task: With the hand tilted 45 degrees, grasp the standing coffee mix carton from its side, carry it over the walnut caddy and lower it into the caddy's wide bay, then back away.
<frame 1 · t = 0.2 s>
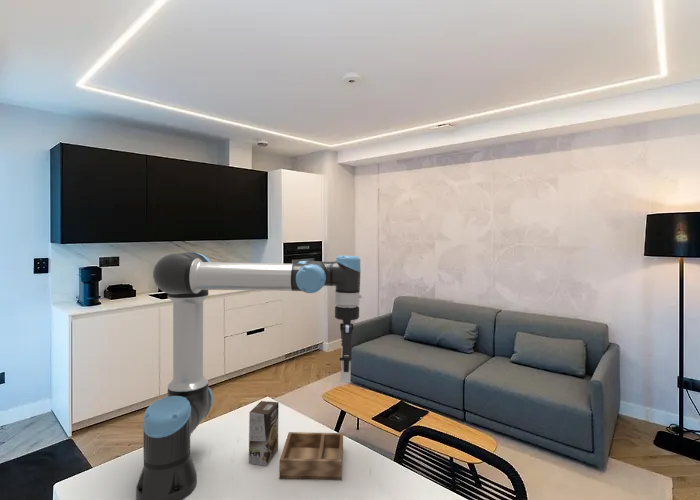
hand: (345, 374, 118), 28 cm above the table, tool pointing down, fingers open, 13 cm apart
caddy: (313, 463, 118), on the table
coffee box: (264, 457, 121), on the table
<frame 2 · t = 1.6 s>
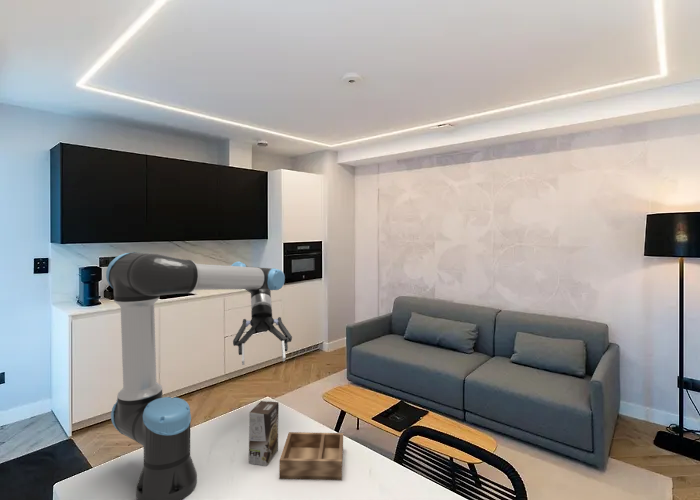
hand: (263, 361, 130), 28 cm above the table, tool tilted 45°, fingers open, 13 cm apart
nothing on the table moved.
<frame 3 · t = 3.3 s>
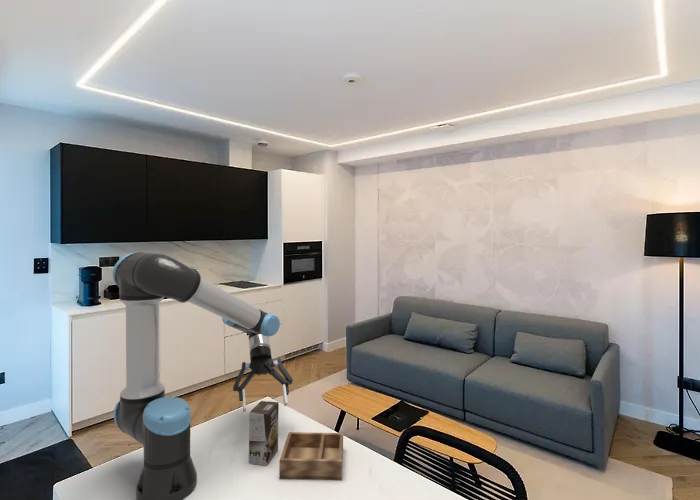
hand: (265, 407, 127), 13 cm above the table, tool tilted 45°, fingers open, 13 cm apart
nothing on the table moved.
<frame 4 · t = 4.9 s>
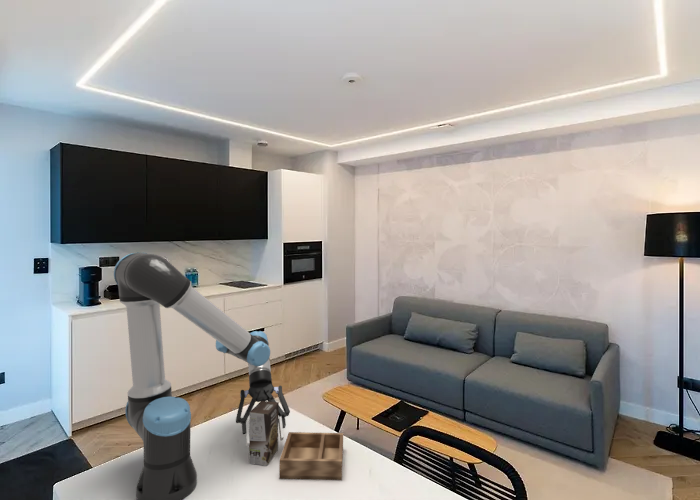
hand: (265, 441, 118), 6 cm above the table, tool tilted 45°, fingers closed on coffee box, 10 cm apart
coffee box: (264, 457, 121), on the table, touching gripper
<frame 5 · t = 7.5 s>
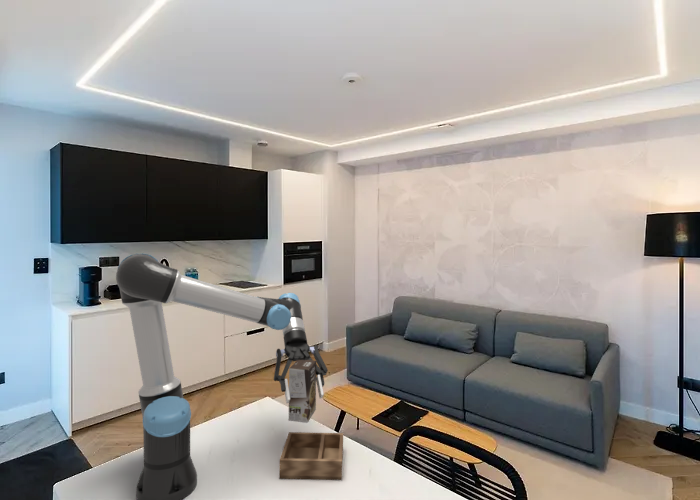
hand: (305, 398, 115), 21 cm above the table, tool tilted 45°, fingers closed on coffee box, 10 cm apart
coffee box: (302, 415, 119), point 14 cm above the table, touching gripper
when the fingers open (9 cm above the table, at t = 10.4 s): coffee box drops 1 cm, resting on caddy.
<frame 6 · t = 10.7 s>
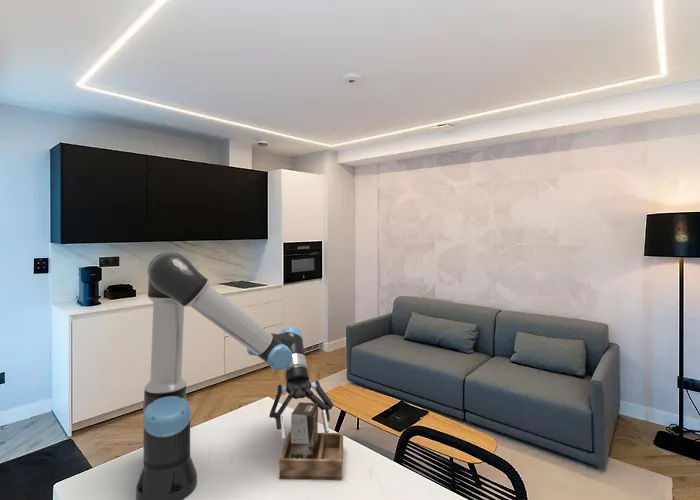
hand: (305, 436, 116), 10 cm above the table, tool tilted 45°, fingers open, 13 cm apart
coffee box: (304, 460, 119), point 1 cm above the table, touching caddy
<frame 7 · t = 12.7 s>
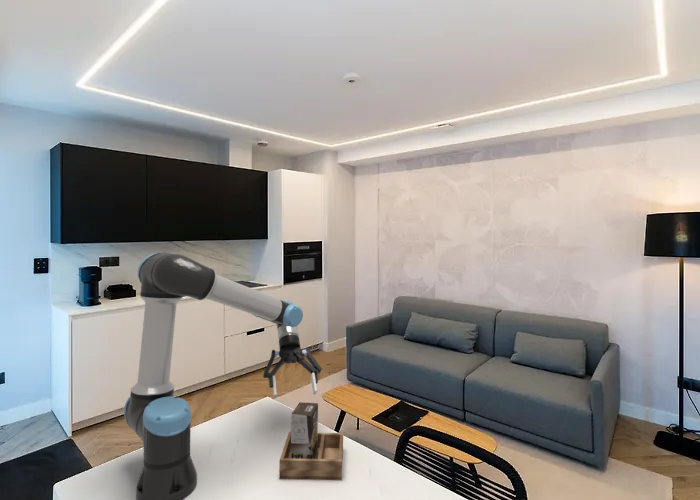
hand: (295, 394, 128), 17 cm above the table, tool tilted 45°, fingers open, 13 cm apart
nothing on the table moved.
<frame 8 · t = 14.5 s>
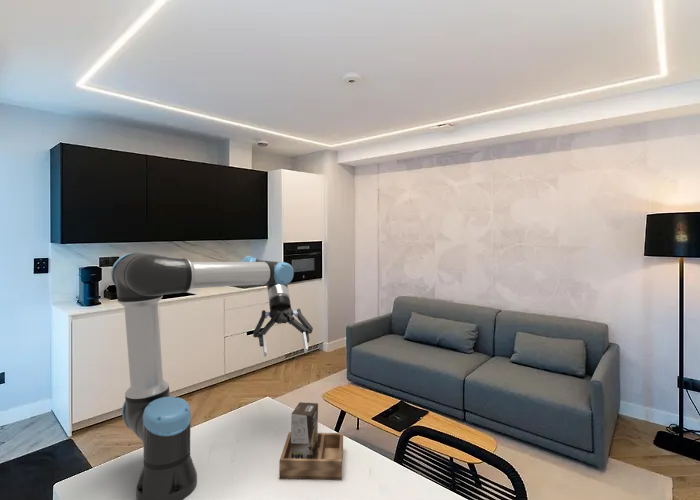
hand: (286, 352, 126), 32 cm above the table, tool tilted 45°, fingers open, 13 cm apart
nothing on the table moved.
at the end: coffee box inside the target area on the caddy (0.3 cm from its centre), point 0.8 cm above the caddy's base; coffee box tilted 0°; the gripper is holding nothing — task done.
